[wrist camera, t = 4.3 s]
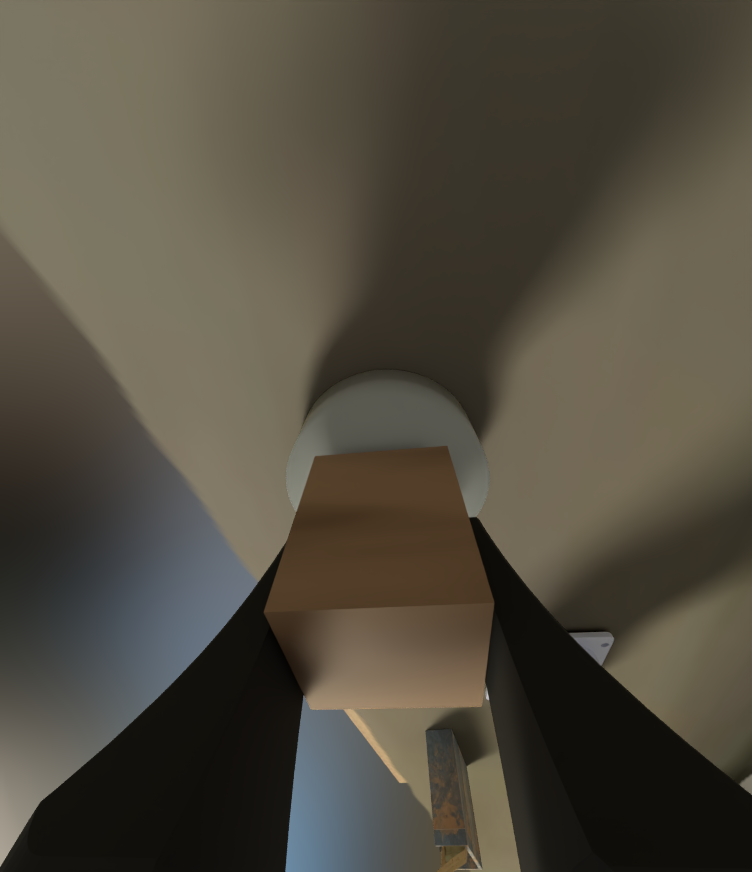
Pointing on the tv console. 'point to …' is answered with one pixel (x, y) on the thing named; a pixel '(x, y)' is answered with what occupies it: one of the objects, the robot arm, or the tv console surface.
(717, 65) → the tv console surface
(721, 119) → the tv console surface
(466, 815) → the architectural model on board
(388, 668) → the walnut block
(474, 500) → the pale grey round disc
